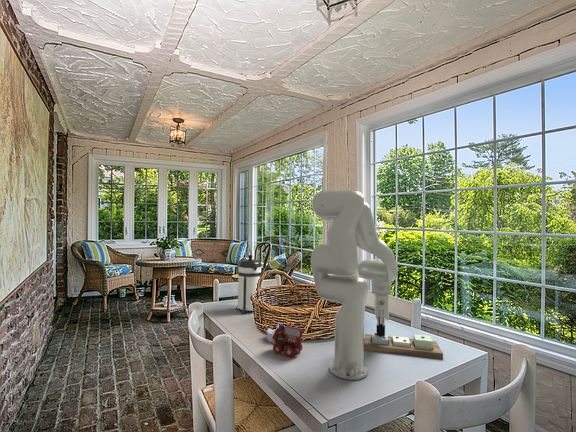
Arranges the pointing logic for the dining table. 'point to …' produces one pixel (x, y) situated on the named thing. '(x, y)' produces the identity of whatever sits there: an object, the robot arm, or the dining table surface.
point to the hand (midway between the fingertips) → (380, 334)
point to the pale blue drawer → (379, 339)
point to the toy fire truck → (287, 340)
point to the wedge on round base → (271, 333)
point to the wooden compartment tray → (402, 348)
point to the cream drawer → (400, 341)
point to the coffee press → (247, 282)
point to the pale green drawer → (423, 341)
